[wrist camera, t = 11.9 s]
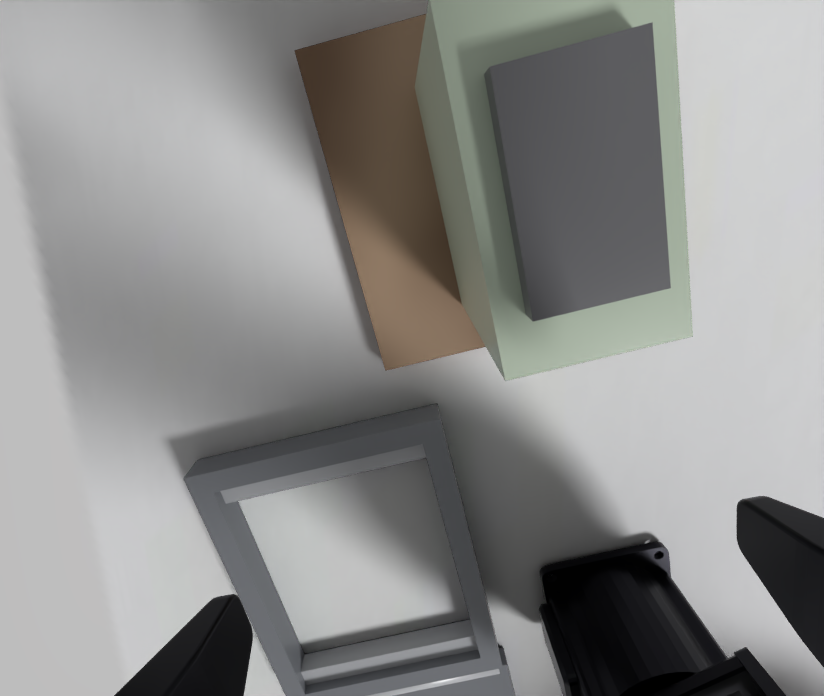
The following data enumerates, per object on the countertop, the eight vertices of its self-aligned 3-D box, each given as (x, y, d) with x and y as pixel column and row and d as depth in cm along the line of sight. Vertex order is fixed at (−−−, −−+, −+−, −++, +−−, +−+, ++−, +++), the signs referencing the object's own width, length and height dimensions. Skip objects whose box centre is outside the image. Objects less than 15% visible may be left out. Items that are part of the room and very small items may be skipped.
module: (541, 52, 16) (689, -91, 8) (572, 277, 19) (708, 344, 10) (414, 86, 16) (431, -18, 8) (462, 304, 19) (511, 390, 11)
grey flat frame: (442, 402, 21) (447, 422, 19) (541, 801, 31) (550, 841, 29) (192, 461, 22) (172, 486, 20) (363, 835, 31) (361, 876, 29)
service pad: (632, -34, 16) (647, -48, 15) (658, 296, 20) (671, 302, 19) (300, 58, 17) (294, 50, 16) (386, 362, 21) (385, 370, 20)
